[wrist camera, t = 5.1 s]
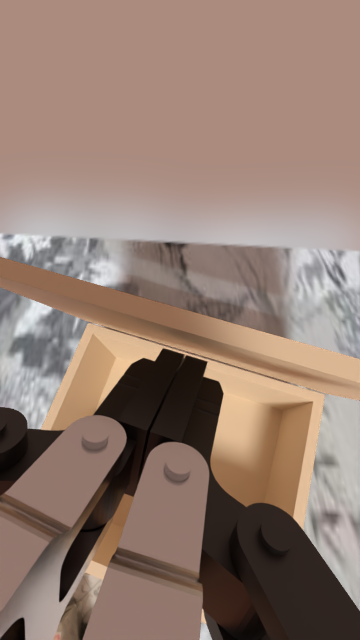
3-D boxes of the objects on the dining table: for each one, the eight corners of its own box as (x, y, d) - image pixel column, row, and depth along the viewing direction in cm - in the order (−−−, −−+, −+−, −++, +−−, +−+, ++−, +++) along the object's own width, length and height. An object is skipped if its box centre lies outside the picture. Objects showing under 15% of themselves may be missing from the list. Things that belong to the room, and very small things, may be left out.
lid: (-102, 247, 9) (-93, 226, 9) (86, 320, 21) (89, 312, 21) (560, 442, 6) (565, 412, 6) (327, 393, 19) (329, 384, 19)
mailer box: (51, 506, 25) (-6, 533, 18) (114, 350, 29) (88, 321, 22) (253, 587, 22) (282, 656, 15) (289, 405, 27) (325, 393, 20)
